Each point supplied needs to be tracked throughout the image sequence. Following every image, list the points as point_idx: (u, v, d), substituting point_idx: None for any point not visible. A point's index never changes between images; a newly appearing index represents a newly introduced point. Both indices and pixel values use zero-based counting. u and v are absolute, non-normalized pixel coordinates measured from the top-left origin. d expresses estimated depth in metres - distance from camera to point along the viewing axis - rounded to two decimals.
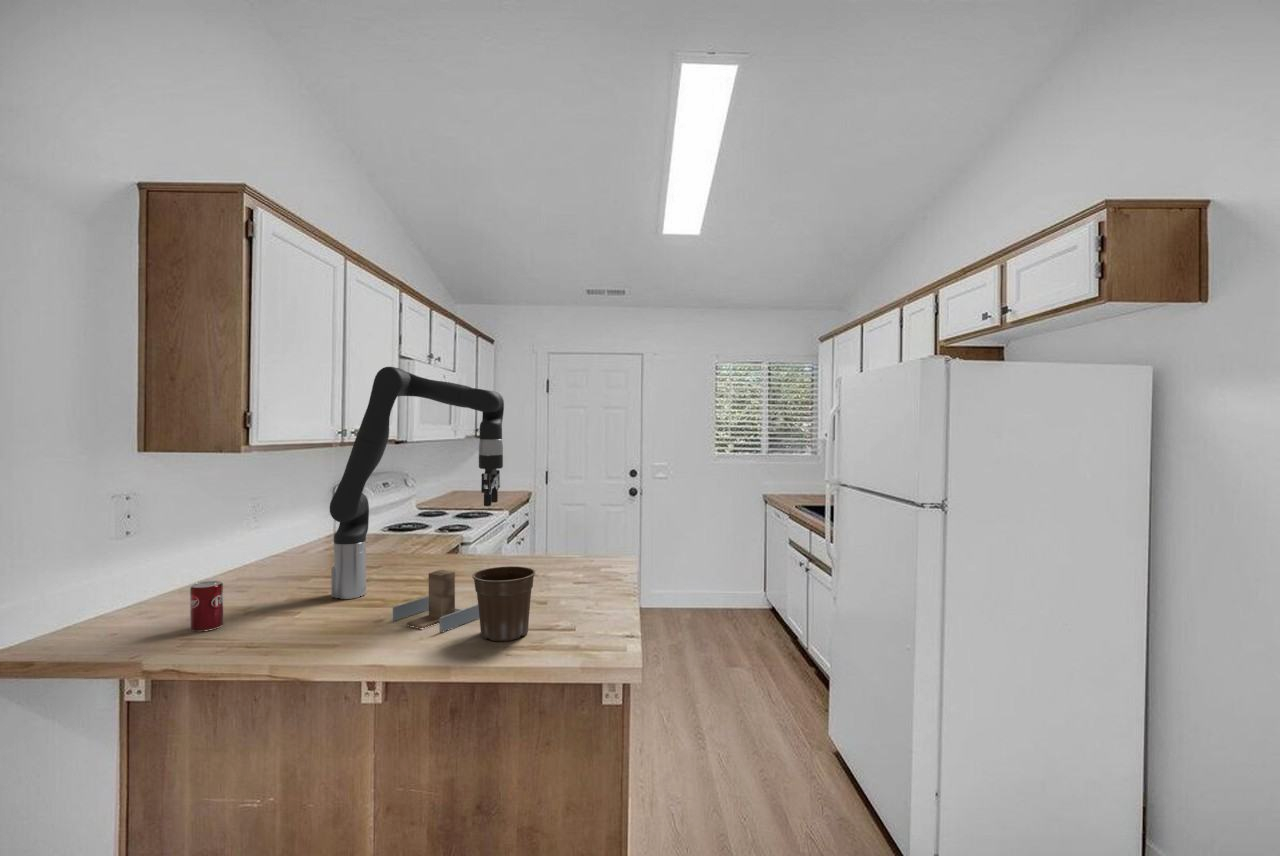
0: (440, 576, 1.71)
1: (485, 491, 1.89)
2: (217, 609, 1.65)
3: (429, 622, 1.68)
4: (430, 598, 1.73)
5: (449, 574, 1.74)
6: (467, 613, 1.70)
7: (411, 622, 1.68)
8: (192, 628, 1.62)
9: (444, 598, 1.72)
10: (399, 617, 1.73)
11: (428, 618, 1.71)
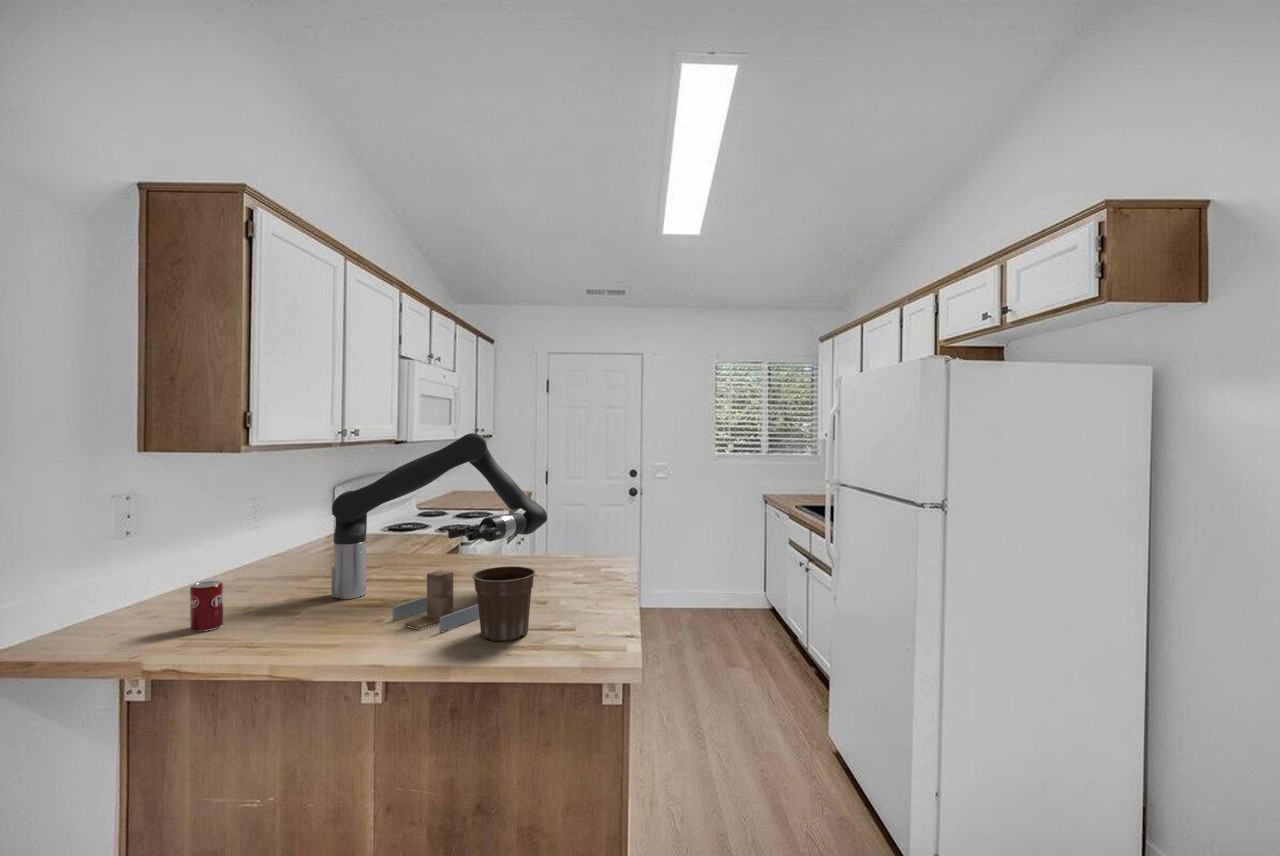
0: (438, 576, 1.71)
1: (487, 535, 1.81)
2: (217, 609, 1.65)
3: (427, 623, 1.67)
4: (428, 599, 1.73)
5: (447, 574, 1.73)
6: (467, 613, 1.70)
7: (409, 622, 1.67)
8: (192, 628, 1.62)
9: (442, 599, 1.71)
10: (399, 617, 1.73)
11: (426, 619, 1.70)
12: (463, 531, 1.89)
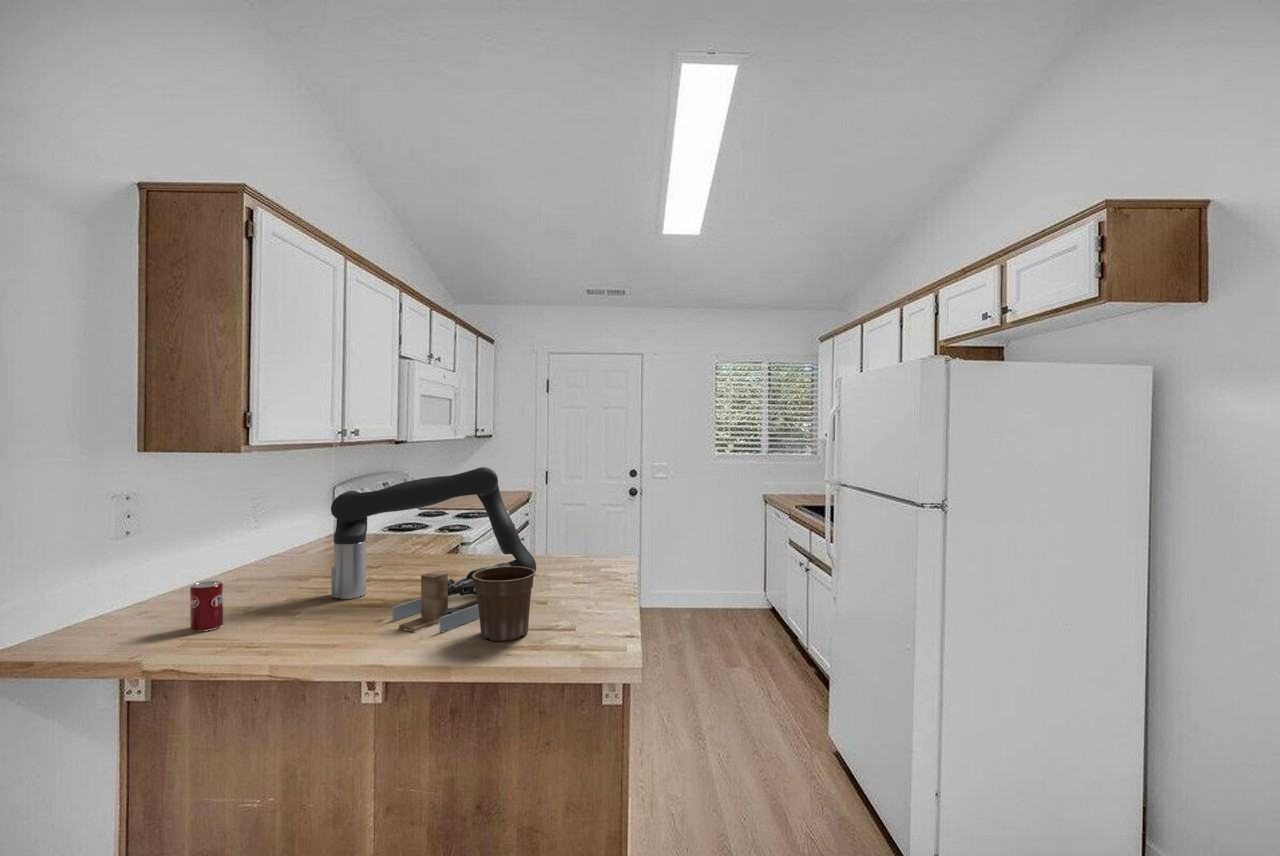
0: (433, 578, 1.69)
1: (462, 590, 1.77)
2: (217, 609, 1.65)
3: (421, 625, 1.66)
4: (423, 600, 1.71)
5: (442, 576, 1.71)
6: (467, 613, 1.70)
7: (403, 624, 1.66)
8: (192, 628, 1.62)
9: (437, 601, 1.70)
10: (399, 617, 1.73)
11: (420, 621, 1.69)
12: None
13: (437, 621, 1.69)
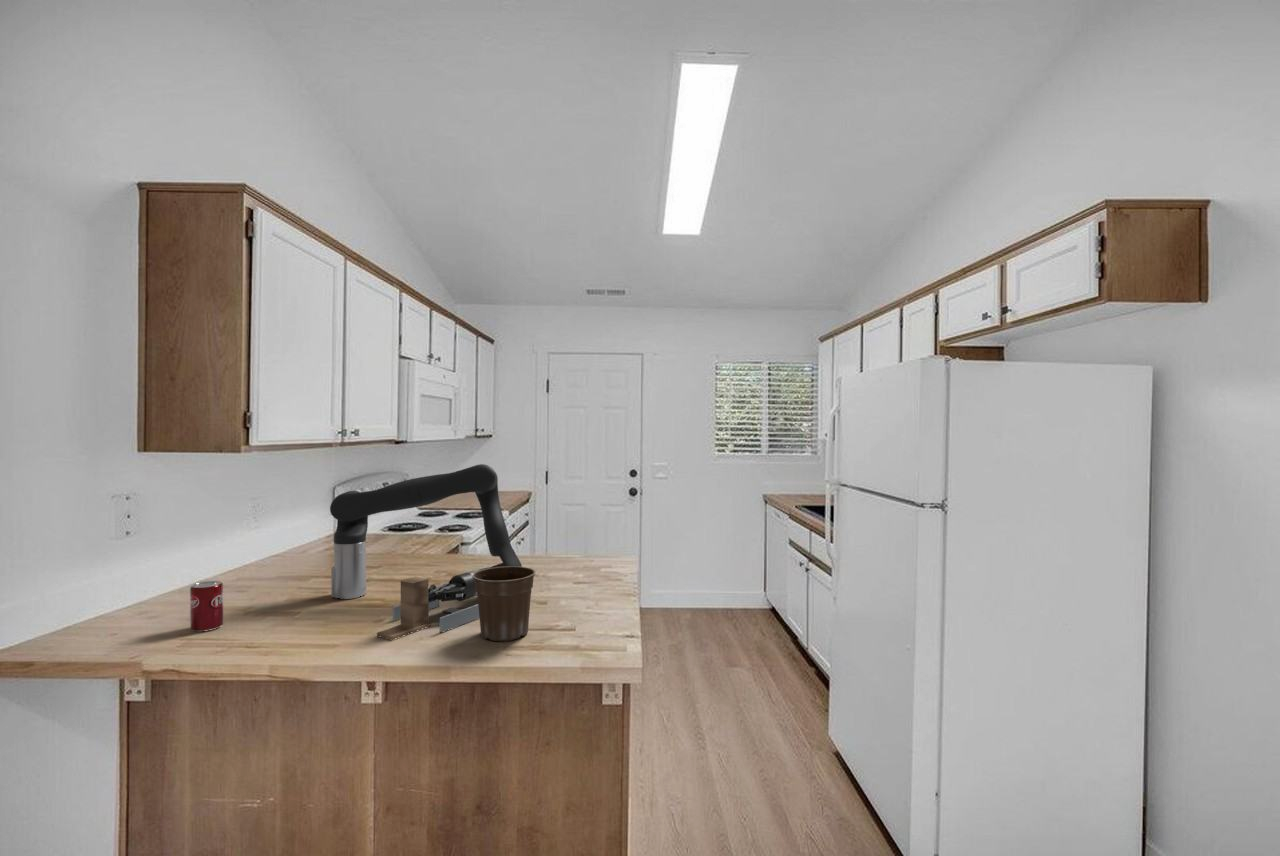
0: (412, 584, 1.63)
1: (443, 596, 1.71)
2: (217, 609, 1.65)
3: (400, 632, 1.60)
4: (402, 607, 1.65)
5: (422, 581, 1.65)
6: (467, 613, 1.70)
7: (381, 632, 1.60)
8: (192, 628, 1.62)
9: (417, 607, 1.64)
10: (399, 617, 1.73)
11: (399, 628, 1.63)
12: None
13: (417, 628, 1.63)
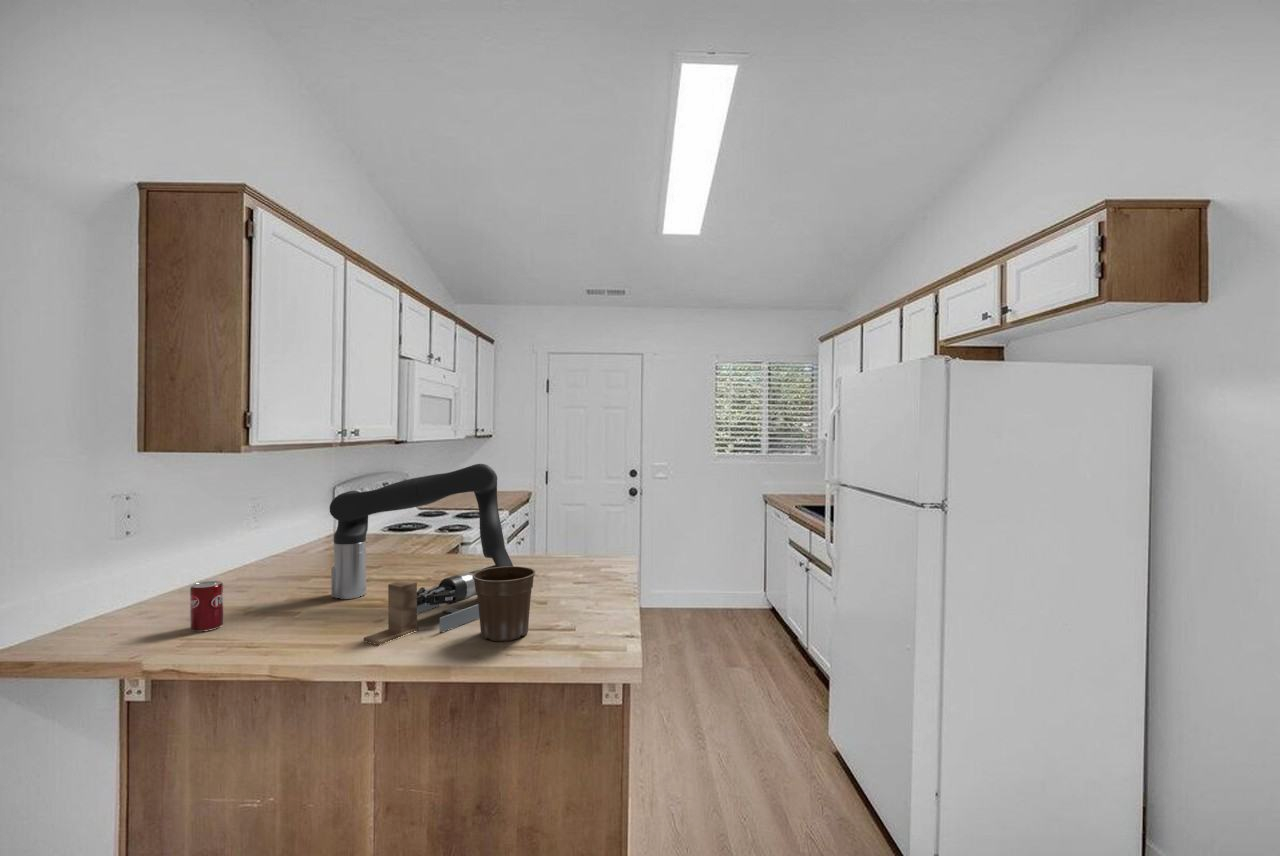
0: (400, 587, 1.59)
1: (432, 600, 1.68)
2: (217, 609, 1.65)
3: (388, 637, 1.56)
4: (390, 611, 1.61)
5: (410, 585, 1.62)
6: (467, 613, 1.70)
7: (368, 637, 1.56)
8: (192, 628, 1.62)
9: (404, 611, 1.60)
10: None
11: (387, 633, 1.59)
12: None
13: (405, 633, 1.60)
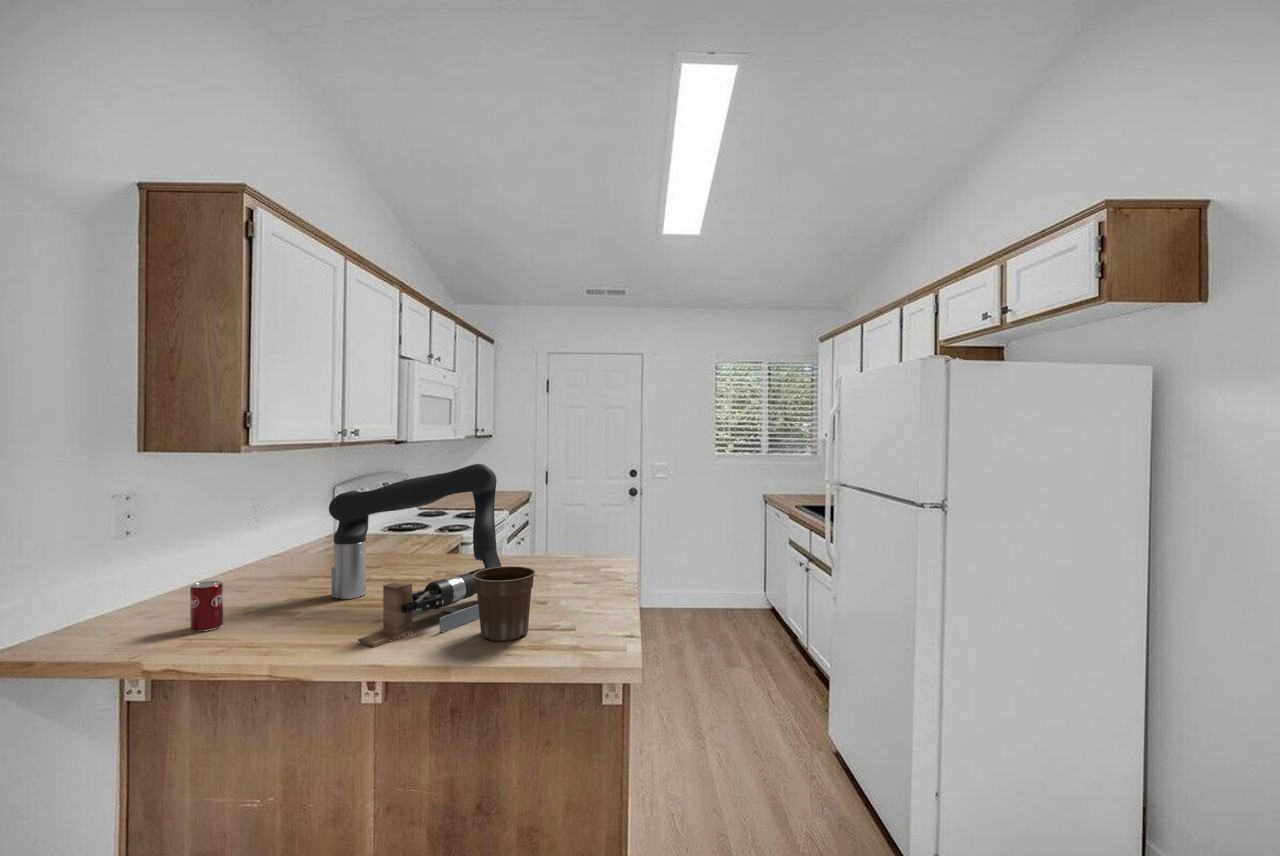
0: (395, 588, 1.58)
1: (424, 606, 1.62)
2: (217, 609, 1.65)
3: (382, 638, 1.55)
4: (385, 612, 1.60)
5: (406, 586, 1.61)
6: (467, 613, 1.70)
7: (363, 638, 1.55)
8: (192, 628, 1.62)
9: (400, 613, 1.59)
10: None
11: (382, 634, 1.58)
12: None
13: (400, 634, 1.59)
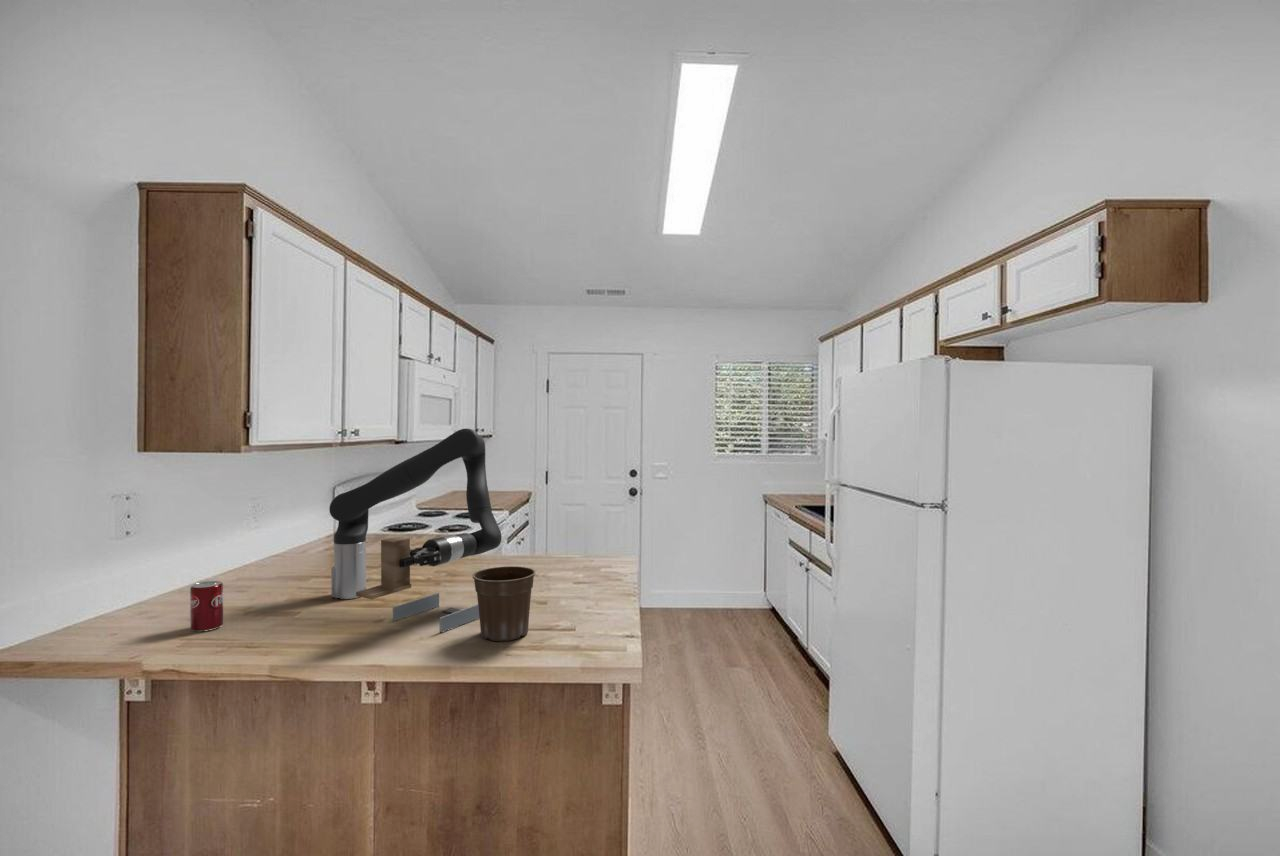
0: (393, 542, 1.58)
1: (422, 561, 1.62)
2: (217, 609, 1.65)
3: (380, 591, 1.55)
4: (383, 566, 1.60)
5: (403, 541, 1.61)
6: (467, 613, 1.70)
7: (360, 591, 1.55)
8: (192, 628, 1.62)
9: (397, 567, 1.59)
10: (399, 617, 1.73)
11: (379, 588, 1.58)
12: None
13: (398, 588, 1.59)
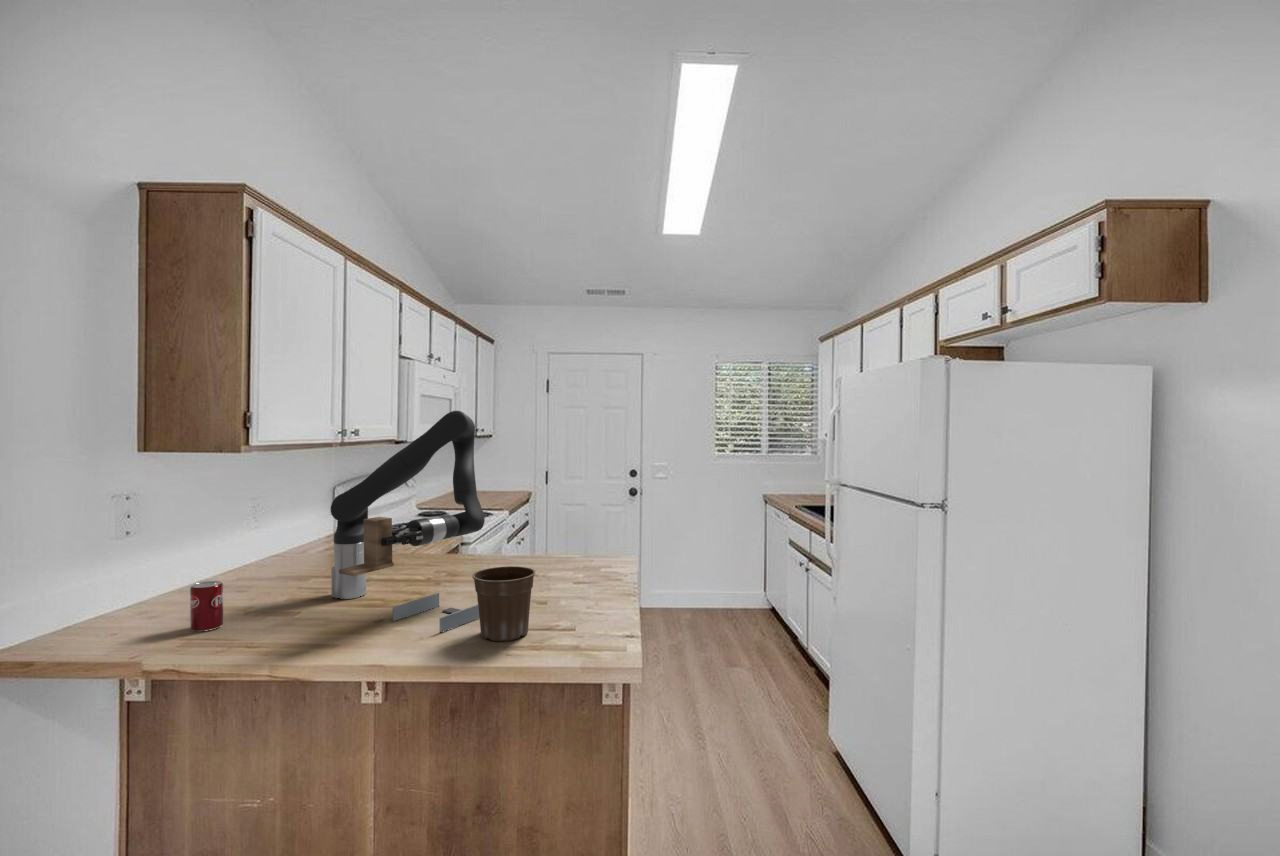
0: (375, 521, 1.62)
1: (404, 540, 1.66)
2: (217, 609, 1.65)
3: (362, 569, 1.59)
4: (365, 545, 1.64)
5: (385, 520, 1.64)
6: (467, 613, 1.70)
7: (343, 569, 1.59)
8: (192, 628, 1.62)
9: (379, 545, 1.63)
10: (399, 617, 1.73)
11: (362, 566, 1.62)
12: None
13: (380, 566, 1.63)
